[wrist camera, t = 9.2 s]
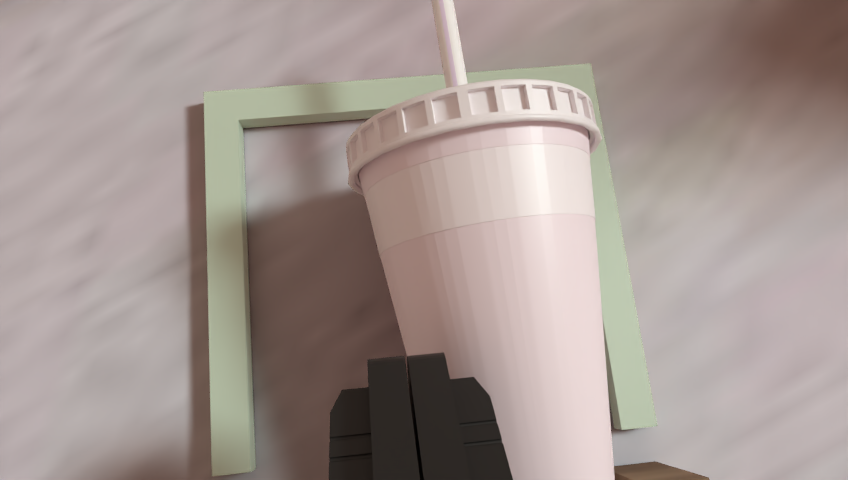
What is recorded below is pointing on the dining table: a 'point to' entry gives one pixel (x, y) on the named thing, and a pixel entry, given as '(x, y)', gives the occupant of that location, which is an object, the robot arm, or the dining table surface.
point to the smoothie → (497, 251)
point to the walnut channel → (653, 472)
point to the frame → (363, 101)
